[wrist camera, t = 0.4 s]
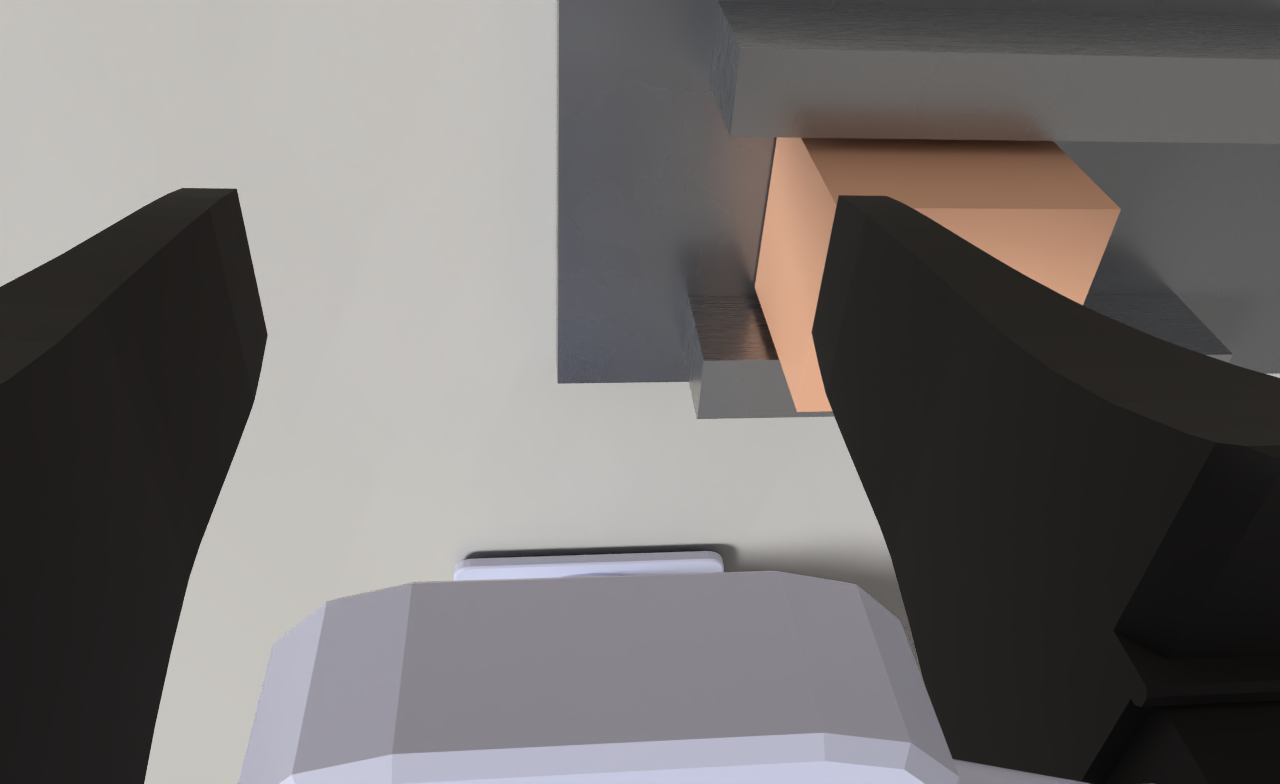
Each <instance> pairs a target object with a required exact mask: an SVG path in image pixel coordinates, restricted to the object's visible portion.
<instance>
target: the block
mask: <svg viewBox="0 0 1280 784" xmlns="http://www.w3.org/2000/svg"><path fill="white" fill-rule="evenodd" d="M839 195H860V196H888V197H891V198H893V199H895V200H898V201H900V202H902V203H904V204H906V205H908V206H909V207H911V208H913V209H915V210H917V211H918V212H920V213H922V214H924V215H925V216H927V217H929V218H930V219H932V220H934V221H935V222H937V223H939V224H940V225H942V226H943V227H945V228H947V229H948V230H950V231H952V232H953V233H955V234H957V235H958V236H960V237H961V238H963V239H965V240H966V241H968V242H970V243H971V244H973V245H975V246H976V247H978V248H980V249H981V250H983V251H984V252H986V253H988V254H989V255H991V256H993V257H994V258H996V259H998V260H1000V261H1001V262H1003V263H1005V264H1006V265H1008V266H1010V267H1012V268H1013V269H1015V270H1017V271H1019V272H1020V273H1022V274H1024V275H1026V276H1027V277H1029V278H1031V279H1033V280H1035V281H1037V282H1039V283H1041V284H1042V285H1044V286H1046V287H1048V288H1050V289H1052V290H1054V291H1056V292H1058V293H1059V294H1061V295H1063V296H1065V297H1067V298H1069V299H1071V300H1073V301H1075V302H1077V303H1079V304H1081V305H1083V304H1084V301H1085V299H1086V296H1087V294H1088V291H1089V289H1090V286H1091V284H1092V281H1093V279H1094V276H1095V274H1096V271H1097V269H1098V266H1099V263H1100V261H1101V258H1102V256H1103V253H1104V251H1105V248H1106V246H1107V243H1108V241H1109V238H1110V236H1111V233H1112V231H1113V228H1114V226H1115V223H1116V221H1117V218H1118V216H1119V213H1120V211H1121V209H1120V208H1119V207H1118V206H1117V205H1116V204H1115V203H1114V202H1113V201H1112V200H1111V199H1110V198H1109V197H1108V196H1107V195H1106V194H1105V193H1104V192H1103V191H1102V190H1101V189H1100V188H1099V187H1098V186H1097V185H1096V184H1095V183H1094V182H1093V181H1092V180H1091V179H1090V178H1089V177H1088V176H1087V175H1086V174H1085V173H1084V172H1083V171H1082V170H1081V169H1080V168H1079V167H1078V166H1077V165H1076V164H1075V163H1074V162H1073V161H1072V160H1071V158H1070V157H1069V156H1068V155H1067V154H1066V153H1065V152H1064V151H1063V150H1062V149H1061V148H1060V147H1059V146H1058V145H1057V144H1056V143H1055V142H1054V141H1018V140H940V139H861V138H783V137H777V140H776V147H775V154H774V161H773V167H772V174H771V181H770V187H769V194H768V201H767V208H766V214H765V221H764V228H763V234H762V241H761V248H760V255H759V261H758V268H757V275H756V282H755V290H756V293H757V296H758V298H759V301H760V304H761V307H762V310H763V313H764V316H765V319H766V322H767V325H768V328H769V331H770V334H771V337H772V340H773V342H774V345H775V348H776V351H777V354H778V357H779V360H780V363H781V366H782V369H783V372H784V375H785V378H786V381H787V384H788V387H789V389H790V392H791V395H792V398H793V401H794V404H795V407H796V410H797V412H821V411H832V409H831V406H830V404H829V401H828V398H827V396H826V393H825V389H824V385H823V381H822V377H821V373H820V369H819V365H818V360H817V355H816V351H815V346H814V342H813V337H812V333H811V332H812V327H813V322H814V317H815V312H816V307H817V302H818V297H819V292H820V287H821V281H822V276H823V271H824V266H825V261H826V256H827V251H828V246H829V241H830V236H831V231H832V226H833V221H834V216H835V211H836V206H837V201H838V196H839Z"/></svg>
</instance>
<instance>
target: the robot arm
mask: <svg viewBox="0 0 1280 784" xmlns="http://www.w3.org/2000/svg"><path fill="white" fill-rule="evenodd" d="M811 333H812V337H813V342H814V346H815V351H816V355H817V360H818V365H819V369H820V373H821V377H822V381H823V385H824V389H825V393H826V396H827V398H828V401H829V404H830V406H831V409H832V411H833V414H834V416H835V419H836V421H837V424H838V426H839V429H840V431H841V434H842V436H843V439H844V441H845V443H846V446H847V448H848V451H849V453H850V456H851V458H852V460H853V463H854V465H855V468H856V470H857V472H858V475H859V477H860V480H861V482H862V484H863V487H864V489H865V492H866V494H867V496H868V499H869V501H870V504H871V506H872V508H873V511H874V513H875V516H876V518H877V520H878V523H879V525H880V528H881V531H882V533H883V536H884V539H885V542H886V545H887V547H888V550H889V553H890V556H891V559H892V562H893V566H894V570H895V573H896V577H897V580H898V584H899V588H900V591H901V595H902V598H903V602H904V606H905V609H906V613H907V616H908V620H909V624H910V628H911V632H912V636H913V640H914V644H915V648H916V652H917V656H918V660H919V664H920V668H921V672H922V676H923V679H922V677H921V674H920V671H919V669H918V666H917V663H916V661H915V658H914V655H913V653H912V650H911V647H910V645H909V642H908V640H907V637H906V634H905V632H904V629H903V626H902V624H901V621H900V620H899V619H898V618H897V617H896V616H894V615H893V614H892V613H891V612H890V611H888V610H887V609H886V608H885V607H883V606H882V605H881V604H880V603H879V602H877V601H876V600H875V599H874V598H872V597H871V596H870V595H869V594H868V593H866V592H865V591H864V590H863V589H861V588H860V587H859V586H858V585H857V584H853V583H847V582H842V581H836V580H830V579H823V578H817V577H811V576H805V575H798V574H792V573H786V572H780V571H748V572H724V564H723V560H722V557H721V556H720V555H719V554H718V553H716V552H712V551H692V552H661V553H630V554H600V555H569V556H538V557H507V558H477V559H466V560H462V561H460V562H458V563H457V565H456V566H455V568H454V576H453V581H431V582H413V583H408V584H403V585H399V586H394V587H389V588H385V589H380V590H375V591H370V592H366V593H361V594H356V595H352V596H347V597H342V598H338V599H335V600H331V601H328V602H326V603H325V604H323V605H322V606H321V607H319V608H318V609H317V610H316V611H314V612H313V613H312V614H310V615H309V616H308V617H307V618H305V619H304V620H303V621H301V622H300V623H299V624H298V625H296V626H295V627H294V628H293V629H291V630H290V631H289V632H287V633H286V634H285V635H284V636H282V637H281V638H280V639H278V640H277V641H276V642H275V643H273V645H272V649H271V653H270V657H269V661H268V665H267V669H266V673H265V677H264V681H263V685H262V689H261V693H260V698H259V702H258V706H257V710H256V714H255V718H254V722H253V726H252V730H251V734H250V738H249V742H248V746H247V750H246V754H245V758H244V762H243V766H242V770H241V774H240V778H239V782H238V784H1280V378H1277V377H1274V376H1270V375H1267V374H1264V373H1260V372H1257V371H1253V370H1250V369H1247V368H1243V367H1240V366H1237V365H1234V364H1231V363H1228V362H1225V361H1222V360H1219V359H1216V358H1213V357H1210V356H1207V355H1204V354H1201V353H1198V352H1195V351H1192V350H1189V349H1187V348H1184V347H1181V346H1178V345H1175V344H1173V343H1170V342H1167V341H1165V340H1162V339H1159V338H1157V337H1154V336H1152V335H1149V334H1147V333H1144V332H1142V331H1140V330H1137V329H1135V328H1133V327H1130V326H1128V325H1126V324H1123V323H1121V322H1119V321H1116V320H1114V319H1112V318H1109V317H1107V316H1105V315H1103V314H1100V313H1098V312H1096V311H1094V310H1092V309H1089V308H1087V307H1085V306H1083V305H1081V304H1079V303H1077V302H1075V301H1073V300H1071V299H1069V298H1067V297H1065V296H1063V295H1061V294H1059V293H1058V292H1056V291H1054V290H1052V289H1050V288H1048V287H1046V286H1044V285H1042V284H1041V283H1039V282H1037V281H1035V280H1033V279H1031V278H1029V277H1027V276H1026V275H1024V274H1022V273H1020V272H1019V271H1017V270H1015V269H1013V268H1012V267H1010V266H1008V265H1006V264H1005V263H1003V262H1001V261H1000V260H998V259H996V258H994V257H993V256H991V255H989V254H988V253H986V252H984V251H983V250H981V249H980V248H978V247H976V246H975V245H973V244H971V243H970V242H968V241H966V240H965V239H963V238H961V237H960V236H958V235H957V234H955V233H953V232H952V231H950V230H948V229H947V228H945V227H943V226H942V225H940V224H939V223H937V222H935V221H934V220H932V219H930V218H929V217H927V216H925V215H924V214H922V213H920V212H918V211H917V210H915V209H913V208H911V207H909V206H908V205H906V204H904V203H902V202H900V201H898V200H895V199H893V198H891V197H888V196H860V195H839V196H838V201H837V206H836V211H835V216H834V221H833V226H832V231H831V236H830V241H829V246H828V251H827V256H826V261H825V266H824V271H823V276H822V281H821V287H820V292H819V297H818V302H817V307H816V312H815V317H814V322H813V327H812V332H811ZM266 340H267V330H266V326H265V321H264V316H263V311H262V307H261V302H260V297H259V293H258V288H257V283H256V278H255V274H254V269H253V264H252V259H251V255H250V250H249V245H248V240H247V236H246V231H245V226H244V221H243V217H242V212H241V207H240V202H239V198H238V193H237V189H206V188H182V189H179V190H177V191H174V192H171V193H169V194H167V195H165V196H163V197H161V198H159V199H157V200H155V201H153V202H151V203H150V204H148V205H146V206H144V207H142V208H141V209H139V210H137V211H135V212H134V213H132V214H130V215H129V216H127V217H125V218H123V219H122V220H120V221H118V222H117V223H115V224H113V225H112V226H110V227H108V228H106V229H105V230H103V231H101V232H100V233H98V234H96V235H94V236H93V237H91V238H89V239H87V240H86V241H84V242H82V243H81V244H79V245H77V246H75V247H74V248H72V249H70V250H69V251H67V252H65V253H63V254H62V255H60V256H58V257H56V258H54V259H52V260H51V261H49V262H47V263H45V264H43V265H41V266H39V267H37V268H35V269H34V270H32V271H30V272H28V273H26V274H24V275H22V276H20V277H18V278H16V279H15V280H13V281H11V282H9V283H7V284H5V285H3V286H1V287H0V784H144V781H145V776H146V770H147V765H148V760H149V754H150V749H151V744H152V739H153V733H154V728H155V723H156V719H157V714H158V709H159V705H160V700H161V696H162V691H163V686H164V682H165V677H166V673H167V668H168V663H169V659H170V654H171V650H172V645H173V641H174V637H175V633H176V629H177V625H178V621H179V617H180V613H181V609H182V605H183V601H184V596H185V592H186V588H187V584H188V580H189V577H190V574H191V570H192V567H193V564H194V561H195V558H196V555H197V552H198V549H199V546H200V543H201V541H202V538H203V535H204V533H205V530H206V528H207V525H208V522H209V520H210V517H211V514H212V512H213V509H214V507H215V504H216V501H217V499H218V496H219V494H220V491H221V488H222V486H223V483H224V481H225V478H226V475H227V473H228V470H229V468H230V465H231V462H232V460H233V457H234V455H235V452H236V449H237V447H238V444H239V441H240V439H241V436H242V433H243V431H244V428H245V425H246V423H247V420H248V417H249V414H250V412H251V409H252V406H253V403H254V400H255V395H256V390H257V386H258V381H259V377H260V372H261V367H262V361H263V356H264V351H265V345H266ZM923 680H924V682H923ZM924 684H925V685H924Z"/></svg>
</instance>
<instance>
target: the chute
mask: <svg viewBox="0 0 1280 784" xmlns="http://www.w3.org/2000/svg"><path fill="white" fill-rule="evenodd" d="M777 137H783V138H861V139H940V140H1018V141H1054V142H1055V143H1056V144H1057V145H1058V146H1059V147H1060V148H1061V149H1062V150H1063V151H1064V152H1065V153H1066V154H1067V155H1068V156H1069V157H1070V158H1071V160H1072V161H1073V162H1074V163H1075V164H1076V165H1077V166H1078V167H1079V168H1080V169H1081V170H1082V171H1083V172H1084V173H1085V174H1086V175H1087V176H1088V177H1089V178H1090V179H1091V180H1092V181H1093V182H1094V183H1095V184H1096V185H1097V186H1098V187H1099V188H1100V189H1101V190H1102V191H1103V192H1104V193H1105V194H1106V195H1107V196H1108V197H1109V198H1110V199H1111V200H1112V201H1113V202H1114V203H1115V204H1116V205H1117V206H1118V207H1119V208H1120V209H1121V211H1120V213H1119V216H1118V218H1117V221H1116V223H1115V226H1114V228H1113V231H1112V233H1111V236H1110V238H1109V241H1108V243H1107V246H1106V248H1105V251H1104V253H1103V256H1102V258H1101V261H1100V263H1099V266H1098V269H1097V271H1096V274H1095V276H1094V279H1093V281H1092V284H1091V286H1090V289H1089V291H1088V294H1087V296H1086V299H1085V301H1084V304H1083V306H1085V307H1087V308H1089V309H1092V310H1094V311H1096V312H1098V313H1100V314H1103V315H1105V316H1107V317H1109V318H1112V319H1114V320H1116V321H1119V322H1121V323H1123V324H1126V325H1128V326H1130V327H1133V328H1135V329H1137V330H1140V331H1142V332H1144V333H1147V334H1149V335H1152V336H1154V337H1157V338H1159V339H1162V340H1165V341H1167V342H1170V343H1173V344H1175V345H1178V346H1181V347H1184V348H1187V349H1189V350H1192V351H1195V352H1198V353H1201V354H1204V355H1207V356H1210V357H1213V358H1216V359H1219V360H1222V361H1225V362H1228V363H1231V364H1234V365H1237V366H1240V367H1243V368H1247V369H1250V370H1253V371H1257V372H1260V373H1264V374H1268V373H1280V0H557V378H558V383H625V382H689V384H690V388H691V393H692V398H693V402H694V407H695V412H696V416H697V419H717V418H773V417H828V416H834V414H833V411H821V412H797V410H796V407H795V404H794V401H793V398H792V395H791V392H790V389H789V387H788V384H787V381H786V378H785V375H784V372H783V369H782V366H781V363H780V360H779V357H778V354H777V351H776V348H775V345H774V342H773V340H772V337H771V334H770V331H769V328H768V325H767V322H766V319H765V316H764V313H763V310H762V307H761V304H760V301H759V298H758V296H757V293H756V290H755V282H756V275H757V268H758V261H759V255H760V248H761V241H762V234H763V228H764V221H765V214H766V208H767V201H768V194H769V187H770V181H771V174H772V167H773V161H774V154H775V147H776V140H777Z"/></svg>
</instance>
